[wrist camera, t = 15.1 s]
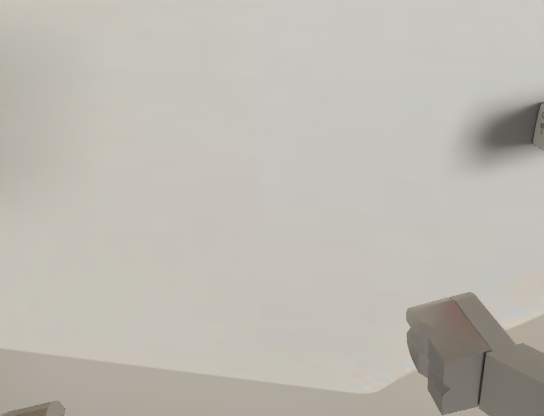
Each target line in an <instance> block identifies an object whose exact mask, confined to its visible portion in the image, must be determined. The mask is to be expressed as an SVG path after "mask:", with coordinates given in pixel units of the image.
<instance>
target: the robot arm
mask: <svg viewBox="0 0 544 416" xmlns="http://www.w3.org/2000/svg"><path fill="white" fill-rule="evenodd" d="M406 320H407V322H408V324H409V325H410V327H411V328H410V329H409V331H408V332H407V344H408V348H409V352H410V355H411V358H412V360H413V362H414V364H415V366H416V368H417V370H418V372H419V373H420V374H422V375H424V376H425V377H427V378H428V391H429V392H430V394H431V396H432V398H433V400H434V401H435V403H436V405H437V407H438V409H439V411H440V412H441V414H442V415H445V414H449V413H453V412H457V411H461V410H465V409H469V408H474V407H478V406H479V409H481V410H482V411H484V412H485V413H486V414H488V415H489V416H544V353H543V352H540V351H538V350H536V349H534V348H532V347H530V346H528V345H526V344H524V343H522V344H517V345H516V344H515V342H514V341H513V340H512V339H511V338H510V336H509V335H508V334H507V333H506V332H505V330H504V329H503V328H502V327H501V326H500V324H499V323H498V322H497V321H496V320H495V318H494V317H493V316H492V315H491V314H490V312H489V311H488V310H487V309H486V307H485V306H484V305H483V304H482V303H481V301H480V300H479V299H478V298H477V297H476V295H475V294H473V293H471V292H468V293H464V294H460V295H457V296H453V297H449V298H444V299H440V300H437V301H433V302H429V303H426V304H422V305H418V306H415V307H411V308H408V309H407V312H406ZM64 413H65V408H64V407H63V405H62V404H61V403H60V402H59V401H53V402H48V403H44V404H40V405H35V406H31V407H27V408H23V409H19V410H14V411H10V412H6V413H2V414H0V416H64Z"/></svg>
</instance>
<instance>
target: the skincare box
mask: <svg viewBox="0 0 544 416" xmlns="http://www.w3.org/2000/svg"><path fill="white" fill-rule="evenodd" d="M533 144H534V145H535V146H537V147H539V148H540V149H542V150H544V103H542V104H541V105H540V109H539V113H538V117H537V122H536V127H535V132H534V138H533Z"/></svg>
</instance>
